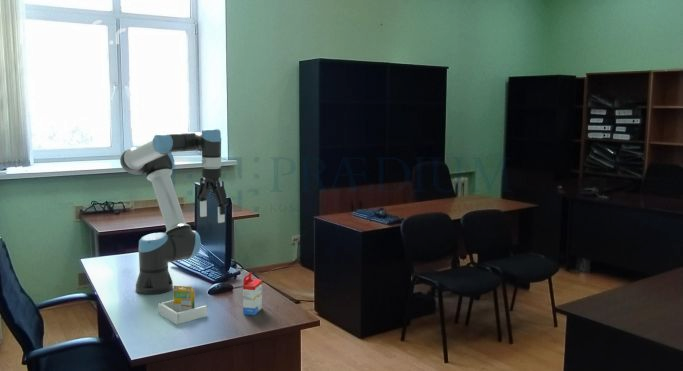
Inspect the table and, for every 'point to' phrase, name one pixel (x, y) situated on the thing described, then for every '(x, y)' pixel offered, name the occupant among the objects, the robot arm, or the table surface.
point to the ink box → (252, 295)
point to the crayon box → (183, 298)
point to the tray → (184, 316)
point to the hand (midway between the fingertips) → (212, 219)
